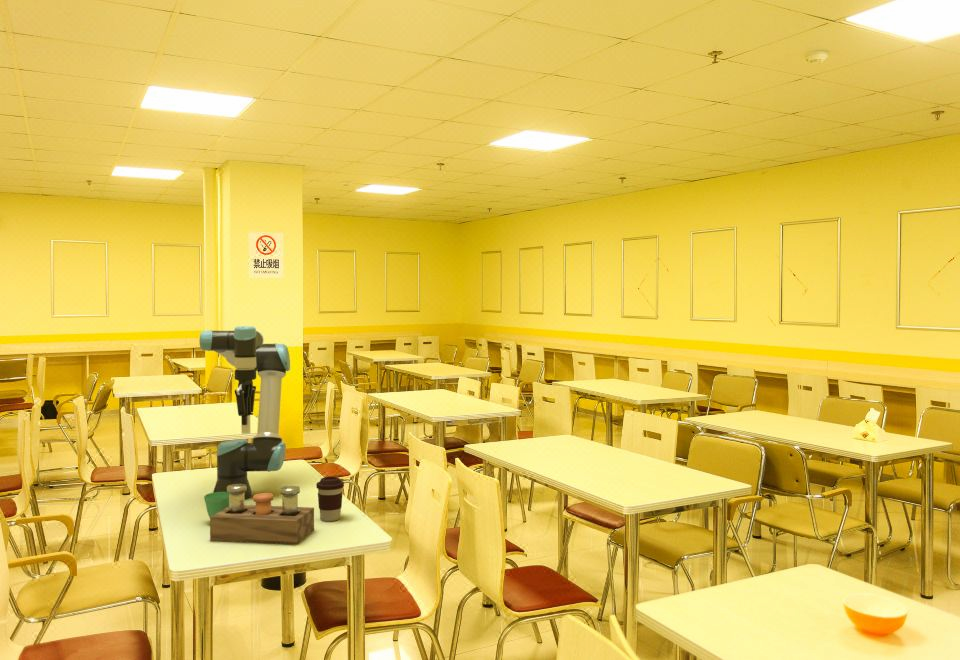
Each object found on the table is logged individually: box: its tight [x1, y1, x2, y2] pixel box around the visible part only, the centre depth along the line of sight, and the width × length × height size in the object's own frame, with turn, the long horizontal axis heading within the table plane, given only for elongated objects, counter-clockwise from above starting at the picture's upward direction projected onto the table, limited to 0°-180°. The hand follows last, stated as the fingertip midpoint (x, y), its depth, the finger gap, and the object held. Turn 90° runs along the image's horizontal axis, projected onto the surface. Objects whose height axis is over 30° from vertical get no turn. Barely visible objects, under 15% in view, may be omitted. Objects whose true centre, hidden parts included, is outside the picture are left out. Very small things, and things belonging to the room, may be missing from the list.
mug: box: [203, 492, 229, 519], centre depth 262 cm, size 15×10×10 cm
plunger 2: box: [279, 485, 301, 516], centre depth 244 cm, size 6×6×11 cm
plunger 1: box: [227, 484, 247, 514], centre depth 247 cm, size 6×6×11 cm
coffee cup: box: [315, 476, 345, 522], centre depth 265 cm, size 10×10×15 cm
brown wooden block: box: [209, 504, 315, 546], centre depth 246 cm, size 16×30×8 cm, turn 83°
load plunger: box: [252, 492, 274, 515], centre depth 246 cm, size 6×6×11 cm
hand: (245, 433), depth 262 cm, fingers closed
